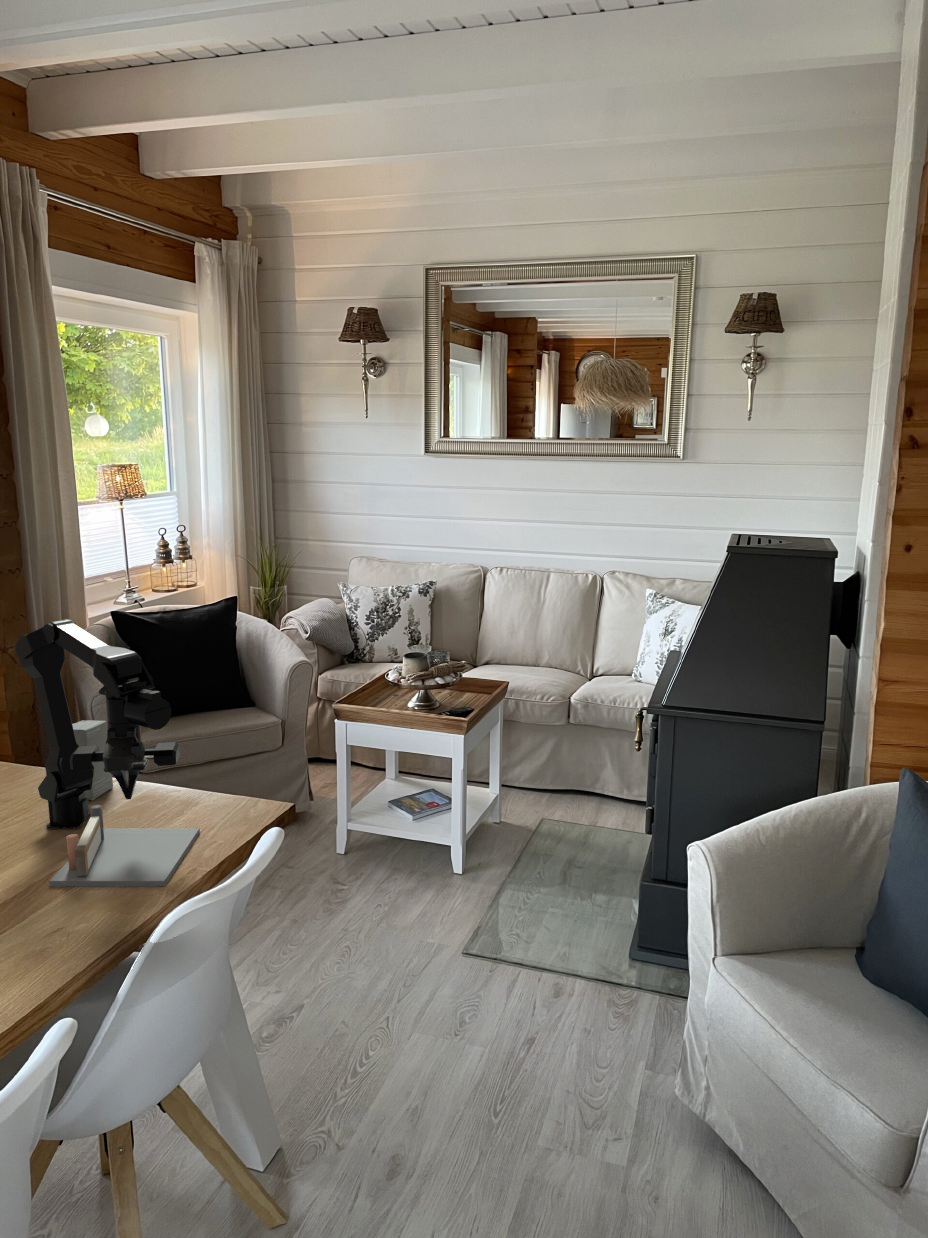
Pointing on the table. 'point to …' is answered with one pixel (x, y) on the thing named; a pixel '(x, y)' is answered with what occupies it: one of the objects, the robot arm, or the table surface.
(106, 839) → the board
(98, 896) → the table surface
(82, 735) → the skincare box
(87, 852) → the gate
